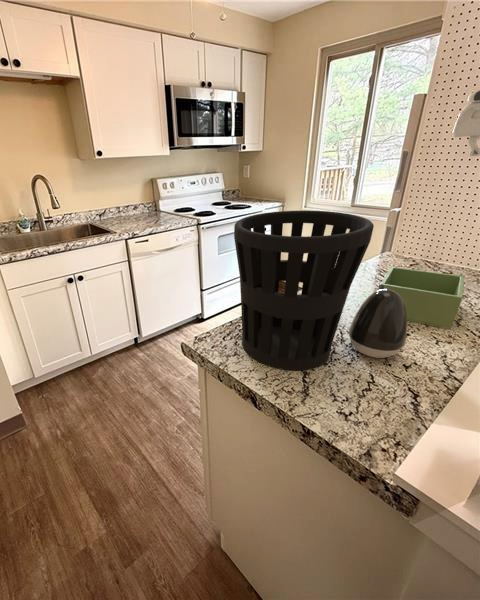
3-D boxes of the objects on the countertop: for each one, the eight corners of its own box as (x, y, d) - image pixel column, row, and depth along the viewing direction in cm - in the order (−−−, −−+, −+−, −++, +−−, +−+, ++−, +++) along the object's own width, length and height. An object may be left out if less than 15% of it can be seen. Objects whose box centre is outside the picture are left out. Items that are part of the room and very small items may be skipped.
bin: (384, 292, 95) (391, 266, 91) (453, 305, 85) (464, 276, 81) (372, 312, 85) (380, 284, 81) (450, 329, 75) (462, 297, 71)
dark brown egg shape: (393, 341, 73) (411, 282, 66) (406, 368, 64) (428, 303, 58) (343, 335, 77) (355, 278, 70) (348, 359, 68) (363, 298, 62)
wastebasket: (363, 345, 72) (396, 215, 60) (308, 397, 59) (335, 246, 47) (267, 311, 91) (276, 207, 78) (209, 345, 78) (209, 227, 65)
